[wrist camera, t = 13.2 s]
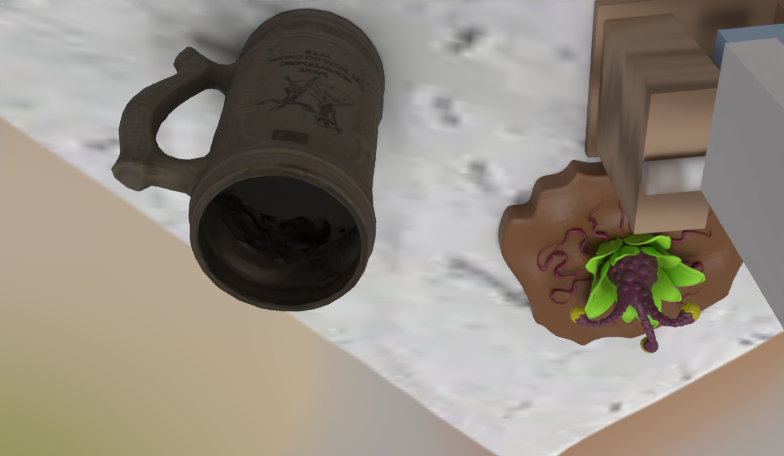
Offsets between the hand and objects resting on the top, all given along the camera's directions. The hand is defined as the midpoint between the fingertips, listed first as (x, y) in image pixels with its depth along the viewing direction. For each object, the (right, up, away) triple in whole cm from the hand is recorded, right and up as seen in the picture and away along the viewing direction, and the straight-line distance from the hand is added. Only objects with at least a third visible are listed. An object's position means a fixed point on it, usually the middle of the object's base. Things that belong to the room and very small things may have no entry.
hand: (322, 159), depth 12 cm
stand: (+24, +10, +41) cm, 48 cm away
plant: (+21, -2, +51) cm, 55 cm away
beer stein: (-7, +10, +41) cm, 43 cm away
